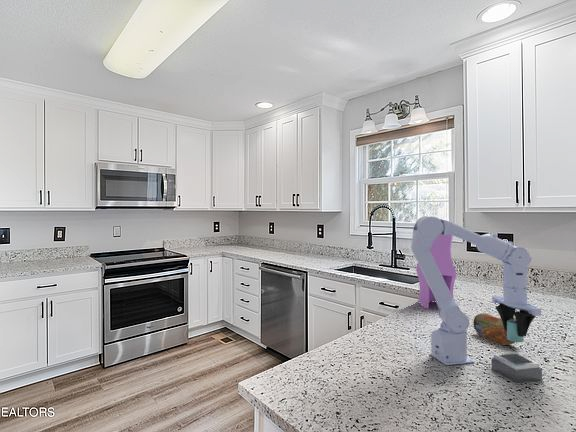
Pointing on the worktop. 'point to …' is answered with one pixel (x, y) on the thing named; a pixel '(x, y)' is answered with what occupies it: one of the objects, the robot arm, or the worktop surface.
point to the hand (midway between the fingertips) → (515, 333)
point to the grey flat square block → (516, 367)
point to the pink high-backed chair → (445, 265)
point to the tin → (491, 328)
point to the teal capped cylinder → (513, 331)
